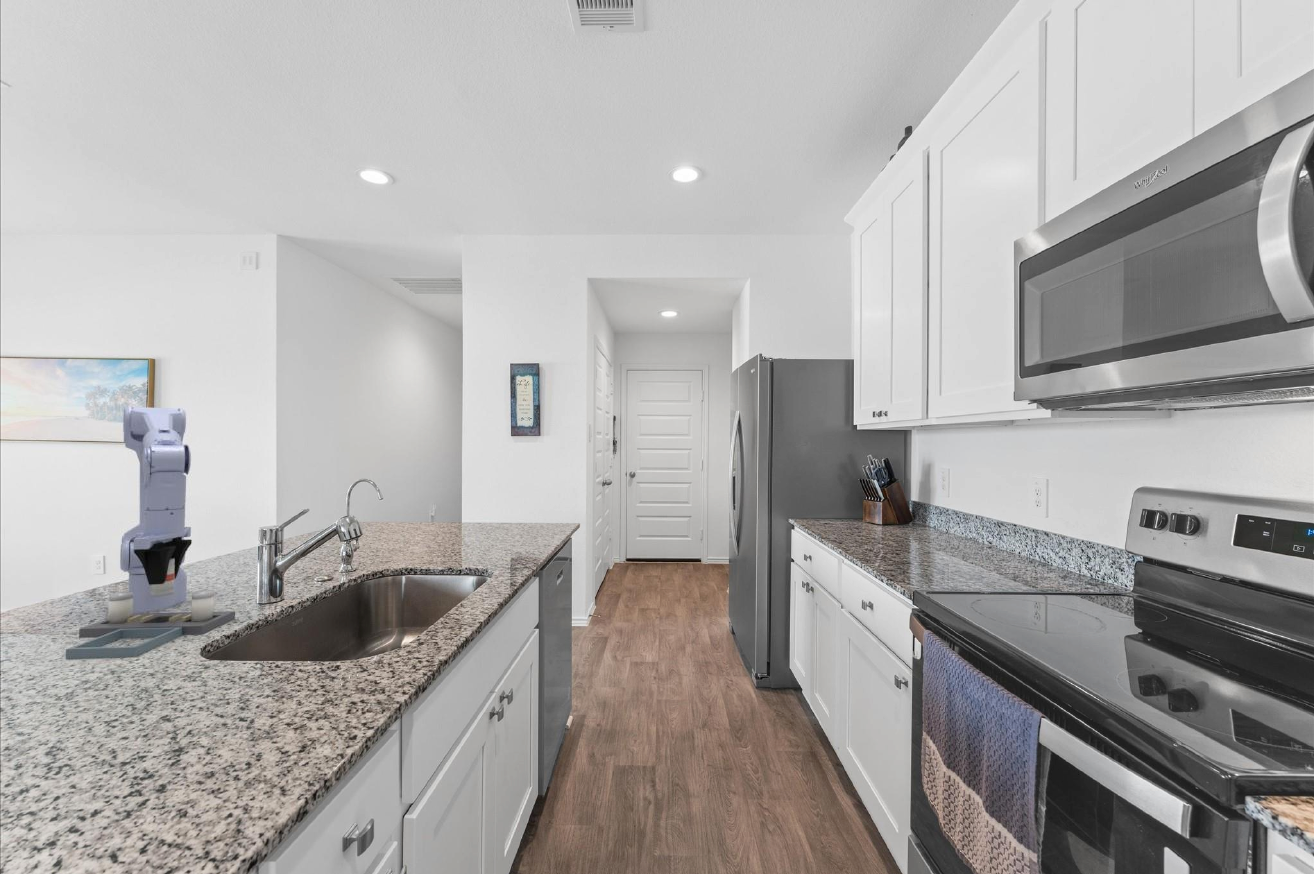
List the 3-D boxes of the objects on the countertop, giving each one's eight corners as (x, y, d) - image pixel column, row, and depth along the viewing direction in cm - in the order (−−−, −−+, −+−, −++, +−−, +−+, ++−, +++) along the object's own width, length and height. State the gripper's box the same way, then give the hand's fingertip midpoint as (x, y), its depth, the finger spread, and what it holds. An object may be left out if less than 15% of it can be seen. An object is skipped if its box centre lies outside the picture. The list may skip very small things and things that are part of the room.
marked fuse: (159, 592, 103) (160, 558, 103) (178, 592, 104) (179, 557, 104) (145, 597, 100) (146, 561, 100) (165, 596, 100) (166, 561, 100)
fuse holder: (122, 626, 105) (123, 610, 105) (234, 623, 107) (235, 608, 107) (78, 643, 96) (79, 625, 96) (201, 639, 98) (202, 622, 98)
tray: (120, 642, 96) (120, 628, 96) (181, 641, 97) (182, 627, 97) (65, 665, 86) (66, 649, 86) (134, 663, 87) (135, 647, 88)
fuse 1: (117, 626, 102) (119, 591, 102) (136, 625, 103) (137, 590, 103) (102, 631, 99) (103, 595, 99) (122, 631, 99) (123, 595, 100)
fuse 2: (198, 624, 104) (199, 589, 104) (217, 623, 104) (218, 589, 104) (186, 629, 101) (187, 594, 101) (205, 629, 101) (206, 594, 101)
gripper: (161, 505, 108) (159, 574, 108) (112, 513, 94) (110, 592, 94) (204, 504, 110) (201, 572, 110) (162, 512, 96) (160, 590, 96)
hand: (162, 581), depth 102 cm, fingers closed on marked fuse, 3 cm apart
